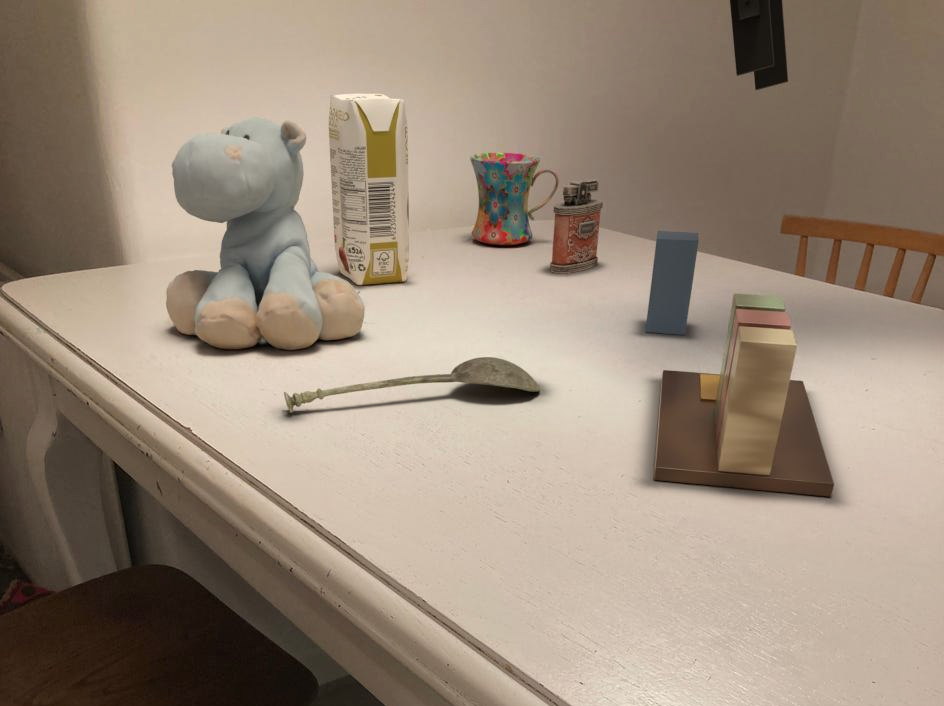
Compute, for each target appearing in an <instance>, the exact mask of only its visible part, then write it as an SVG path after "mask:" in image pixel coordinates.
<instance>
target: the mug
mask: <svg viewBox="0 0 944 706" xmlns="http://www.w3.org/2000/svg"><path fill="white" fill-rule="evenodd" d="M469 159H470V163H471V165H472V169H473V171H474V175H475V179H476V185H477V190H478V191H477V193H478V210H477V216H476V220H475V223H474V226H473V229H472V231H471V236H472V238H473V239H474V240H476V241H478V242H481V243H483V244H486V245H487V244H488V245H493V246H516V245H521V244H523V243H526V242H528V241H530V240H532V238H533V236H534V235H533V231H532V229H531V225H530V221H529V219H530V220H531V221H534V220H535V217H534V216H533V215H532V213H535V212H536V211H539V210H540V209H541V208H542V209H543V207H545V206H546V205H547V204H548V203H549V202H550V201H551V200H552V198H553V197H554V195H555V193H556V192H557V190H558V188H559V182H560V179H559V178H560V177H559V176H558V174H557V172H556V171H554V170H553V169H551V168H544V169H541V170H539V171H538V172H536V170H537V168H538V166H539V164H540V161H541V158H540V157H539V156H536V155H533V154H526V153H516V152H483V153H475V154H472V155H470V157H469ZM535 173H536V174H535ZM545 173H549V174H550V175H553V176H554V178H555V184H554V187H553V189H552V191H551V192H550V194H549V195H548V197H547V198H546V199H545V200H544V201H542V202H541V203H540V204H539V205H537V206H535V207H533V208H532V209H529V208H528V207H529V205H528V204H529V196H530V190H531V187H534V184H535V183H536V180H537V178H538V177H539V176H541V175H543V174H545ZM528 209H529V210H528Z"/></svg>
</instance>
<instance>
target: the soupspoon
mask: <svg viewBox="0 0 944 706" xmlns="http://www.w3.org/2000/svg"><path fill="white" fill-rule="evenodd" d="M433 383H434V384H435V383H438V384H439V383H463V384H474V385H475V384H476V385H486V386H488V385H489V386H493V387H494V386H495V387H502V388H512V389H516V390H517V389H518V390H522V391H527V392H540V391H541V387H540V386H539V384H538V383H537V381H536V380H535V378H533V377H532V375H530V373H529V372H527V370H525V369H523V368H522V367H520V365H518V364H516V363H513V362H511V361H509V360H506V359H503V358H499V357H492V356H482V357H475V358H471V359H468V360H466V361H463V362H461V363H460V364H458V365H456V366H455V367H454V368H453V369H452V371H450V373H443V374H439V373H438V374H424V375H414V376H405V377H398V378H392V379H385V380H378V381H370V382H365V383H364V382H363V383H358V384H351V385H346V386H345V385H344V386H340V387H333V388H327V389H323V390H322V389H321V388H317V389H316V391H310V390H307V391H304V392H300V393H297V392H293V393H292V396H290V395H289V394H288V392H286V391H284V392H283V397H284V400H285V404H286V407H287V409H288V411H289V413H290V414H292V413H293V412H294V407H297V408H300V407H301V406H302V404H304V405H305V404H309V403H312V402H314V401H315V400H316V399H319V400H324V398H326V397H329V396H337V395H343V394H348V393H349V394H350V393H355V392H362V391H371V390H378V389H385V388H392V387H401V386H409V385H418V384H419V385H420V384H433Z"/></svg>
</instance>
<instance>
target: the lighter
mask: <svg viewBox="0 0 944 706" xmlns="http://www.w3.org/2000/svg"><path fill="white" fill-rule="evenodd" d="M599 183H600V182H599V181H598V179H594V178H593V179H587V180H578V179H577V180H576V179H575V180H574V179H572V180H571V181H570V183H569V184H567V185H563V187H562V196H563V201H564V202H560V203H557V204H554V205H553V213H554V223H553V224H554V225H553V239H552V255H551V262H550V263H549V272H552V273H554V274H569V273H570V274H571V273H575V272H580V271H584V270H585V271H586V270H588V269H591V268H593V267H596V266H597V265H598V261H599V257H598V244H599V232H600V221H601V210H602V209H603V207H604V206H603V205H604V201H603V200H601V199H595V198H592V193H595V192H598V191H599V186H600V185H599Z"/></svg>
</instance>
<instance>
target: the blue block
mask: <svg viewBox="0 0 944 706" xmlns="http://www.w3.org/2000/svg"><path fill="white" fill-rule="evenodd" d="M699 240H700V239H699V233H698V232H688V231H672V230H671V231H670V230H657V233H656V241H655V247H654V248H655V249H654V257H653V265H652V274H651V283H650V290H649V297H648V306H647V315H646V322H645V331H644V332H645V333H649V334H650V333H651V334H665V335H679V336H685V335H686V331H687V324H688V317H689V312H690V311H689V310H690V304H691V297H692V289H693V282H694V275H695V268H696V262H697V256H698V248H699V242H700V241H699Z"/></svg>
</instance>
